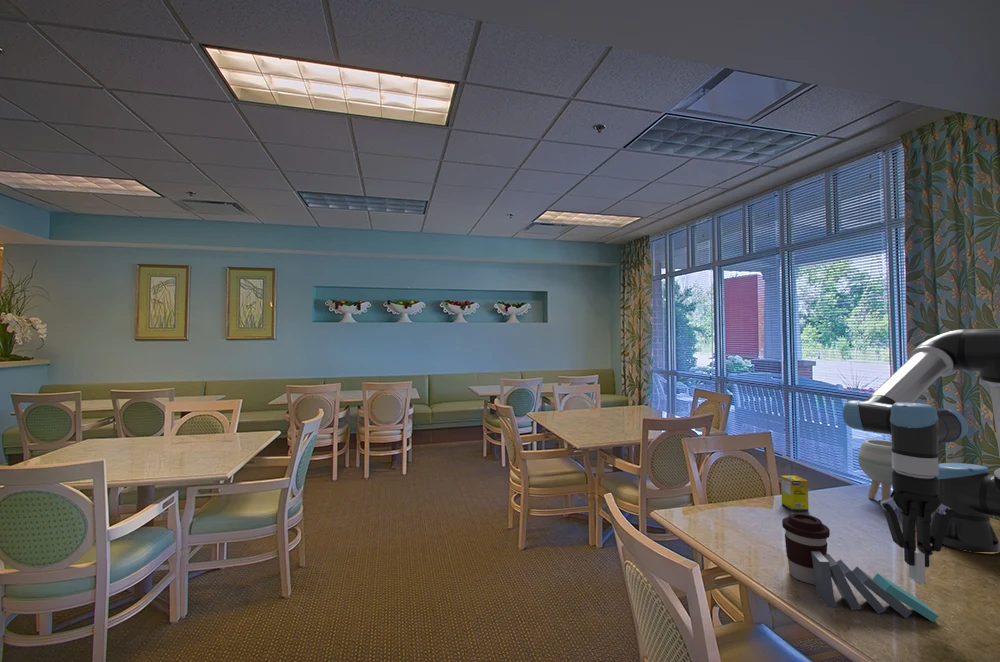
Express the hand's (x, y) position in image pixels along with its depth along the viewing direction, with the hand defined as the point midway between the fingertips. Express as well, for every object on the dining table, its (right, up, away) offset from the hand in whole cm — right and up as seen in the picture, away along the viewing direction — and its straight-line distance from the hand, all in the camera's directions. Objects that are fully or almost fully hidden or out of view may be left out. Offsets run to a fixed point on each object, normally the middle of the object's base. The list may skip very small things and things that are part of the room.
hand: (917, 579), depth 95 cm
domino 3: (-7, -7, +2) cm, 10 cm away
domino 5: (+2, -7, -1) cm, 7 cm away
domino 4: (-3, -7, +1) cm, 7 cm away
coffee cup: (-14, -8, +15) cm, 22 cm away
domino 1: (-16, -8, +5) cm, 19 cm away
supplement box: (+14, -9, +59) cm, 62 cm away
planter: (+50, -9, +63) cm, 81 cm away
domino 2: (-12, -7, +4) cm, 14 cm away
